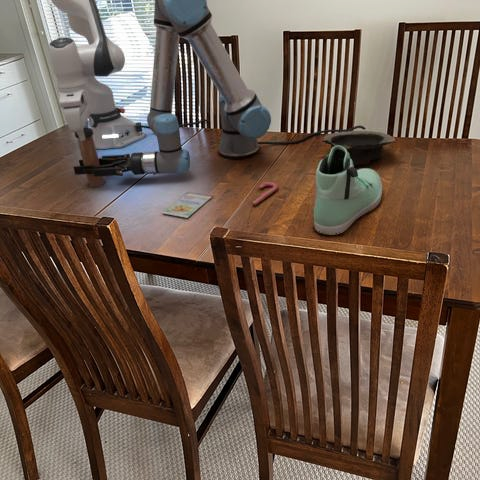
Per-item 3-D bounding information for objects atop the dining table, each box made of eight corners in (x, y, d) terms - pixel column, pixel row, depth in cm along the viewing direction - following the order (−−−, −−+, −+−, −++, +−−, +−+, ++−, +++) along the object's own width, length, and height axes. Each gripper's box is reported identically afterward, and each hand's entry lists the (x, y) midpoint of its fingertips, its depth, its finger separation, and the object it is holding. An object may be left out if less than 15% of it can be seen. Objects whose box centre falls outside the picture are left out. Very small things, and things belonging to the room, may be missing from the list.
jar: (104, 184, 166) (92, 135, 156) (89, 187, 165) (76, 138, 155) (103, 179, 170) (91, 130, 161) (89, 182, 169) (76, 133, 159)
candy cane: (239, 202, 147) (239, 198, 146) (265, 183, 157) (265, 179, 156) (255, 207, 144) (255, 202, 143) (281, 187, 154) (281, 183, 153)
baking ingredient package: (162, 212, 143) (188, 192, 155) (162, 213, 144) (188, 193, 155) (187, 216, 140) (211, 196, 151) (187, 218, 140) (212, 197, 151)
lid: (96, 132, 160) (95, 128, 159) (87, 139, 155) (86, 134, 154) (81, 132, 161) (80, 127, 160) (71, 138, 157) (70, 133, 156)
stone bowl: (352, 176, 156) (352, 149, 152) (308, 158, 177) (307, 134, 172) (409, 157, 165) (411, 131, 161) (361, 143, 185) (362, 119, 181)
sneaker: (389, 187, 148) (396, 123, 138) (356, 242, 123) (361, 168, 112) (346, 181, 154) (350, 119, 144) (306, 232, 129) (307, 161, 118)
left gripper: (70, 87, 160) (80, 127, 167) (57, 103, 142) (69, 148, 149) (89, 85, 160) (98, 125, 167) (79, 101, 143) (90, 145, 150)
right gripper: (140, 184, 157) (71, 188, 158) (150, 163, 172) (87, 166, 174) (136, 163, 153) (65, 167, 154) (147, 143, 169) (82, 147, 170)
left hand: (84, 136), depth 158 cm, fingers closed on lid, 6 cm apart
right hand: (77, 167), depth 164 cm, fingers closed on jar, 5 cm apart
